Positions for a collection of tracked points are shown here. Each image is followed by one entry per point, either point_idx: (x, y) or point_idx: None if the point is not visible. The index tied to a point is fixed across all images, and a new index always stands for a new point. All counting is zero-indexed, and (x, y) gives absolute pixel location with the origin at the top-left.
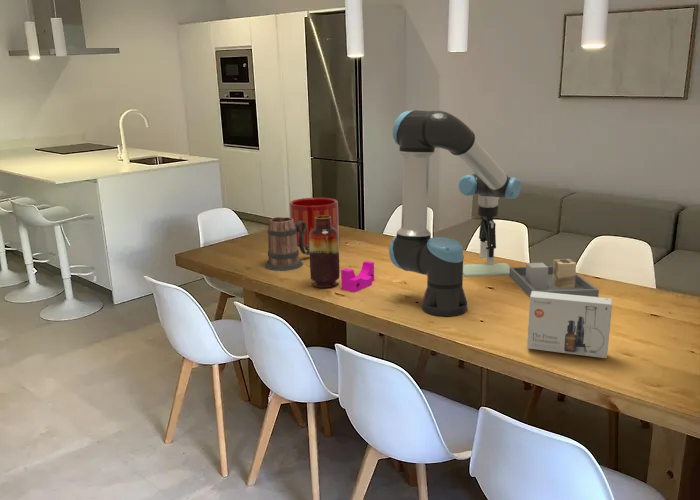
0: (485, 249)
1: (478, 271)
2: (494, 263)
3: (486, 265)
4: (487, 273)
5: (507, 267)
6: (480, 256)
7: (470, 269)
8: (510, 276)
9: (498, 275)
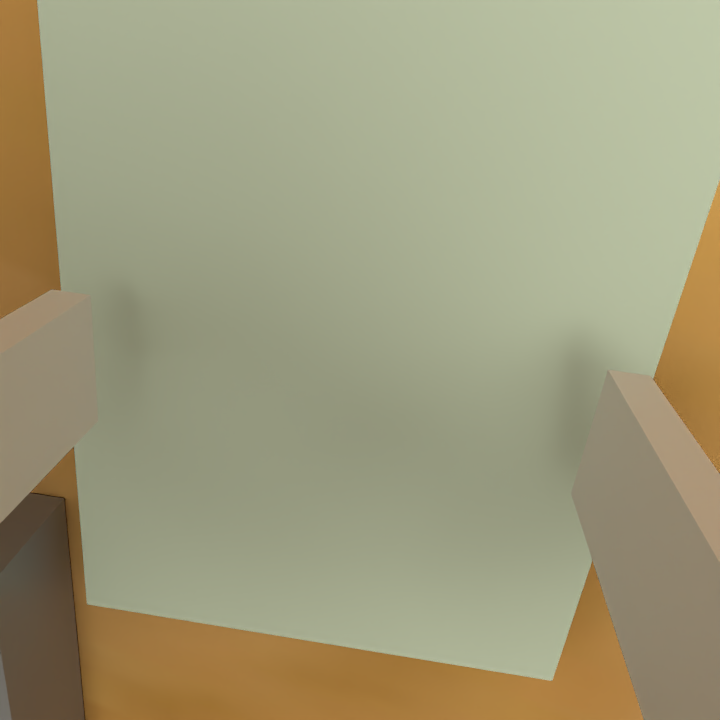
0: (630, 593)
1: (209, 136)
2: None
3: (531, 404)
4: (76, 245)
5: (344, 612)
6: (619, 385)
7: (367, 23)
8: None
9: None
